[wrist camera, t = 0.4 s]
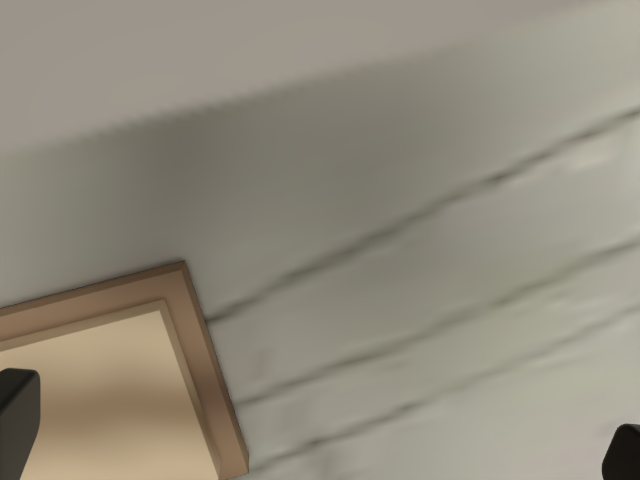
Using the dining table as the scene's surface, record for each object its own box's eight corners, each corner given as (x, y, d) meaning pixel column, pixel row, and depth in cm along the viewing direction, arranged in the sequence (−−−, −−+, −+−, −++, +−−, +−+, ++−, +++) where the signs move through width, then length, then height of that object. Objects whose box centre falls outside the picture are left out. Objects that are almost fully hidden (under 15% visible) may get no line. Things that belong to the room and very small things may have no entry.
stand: (248, 456, 27) (247, 492, 24) (39, 513, 26) (18, 554, 24) (184, 260, 24) (176, 280, 22) (-51, 322, 24) (-85, 348, 21)
